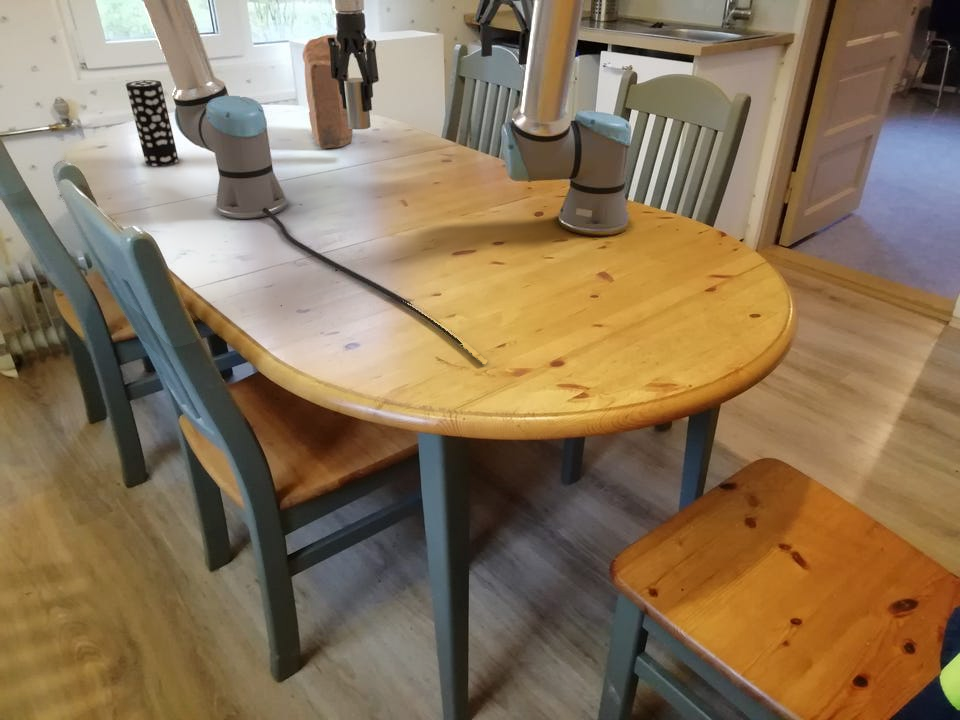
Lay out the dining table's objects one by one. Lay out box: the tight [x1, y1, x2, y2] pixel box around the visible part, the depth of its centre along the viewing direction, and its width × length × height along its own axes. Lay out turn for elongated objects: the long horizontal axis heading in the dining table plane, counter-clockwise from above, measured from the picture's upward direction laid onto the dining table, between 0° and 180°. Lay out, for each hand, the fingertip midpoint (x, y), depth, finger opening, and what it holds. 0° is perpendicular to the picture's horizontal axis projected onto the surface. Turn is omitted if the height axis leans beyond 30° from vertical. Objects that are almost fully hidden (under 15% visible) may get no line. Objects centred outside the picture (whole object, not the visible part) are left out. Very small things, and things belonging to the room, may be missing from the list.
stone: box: [302, 34, 354, 149], centre depth 199 cm, size 22×11×28 cm, turn 18°
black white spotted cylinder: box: [125, 79, 179, 167], centre depth 181 cm, size 8×8×20 cm
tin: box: [344, 77, 372, 131], centre depth 182 cm, size 6×6×12 cm
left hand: (357, 109), depth 182 cm, fingers closed on tin, 6 cm apart
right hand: (504, 60), depth 165 cm, fingers open, 13 cm apart
